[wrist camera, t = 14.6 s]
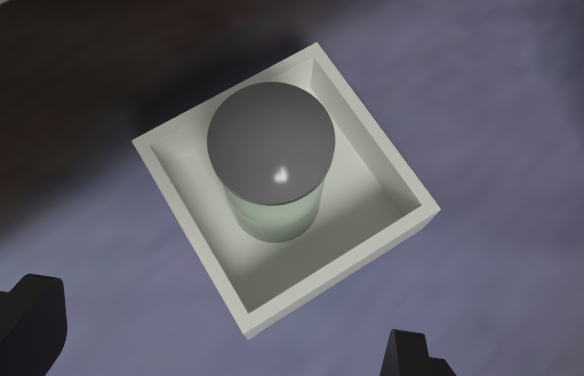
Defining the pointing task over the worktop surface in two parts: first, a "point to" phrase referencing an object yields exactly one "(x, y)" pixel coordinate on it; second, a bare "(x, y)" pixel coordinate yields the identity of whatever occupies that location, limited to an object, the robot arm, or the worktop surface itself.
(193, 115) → the tray
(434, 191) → the worktop surface
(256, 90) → the jar
